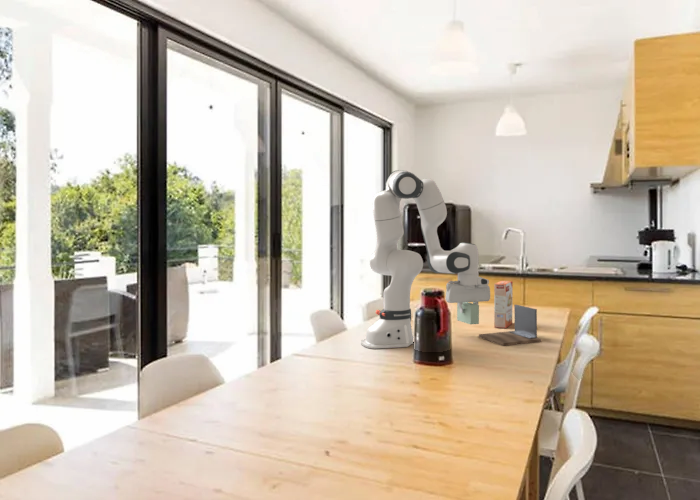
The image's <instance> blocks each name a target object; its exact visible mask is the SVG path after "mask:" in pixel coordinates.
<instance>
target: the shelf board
mask: <svg viewBox="0 0 700 500" xmlns="http://www.w3.org/2000/svg"><path fill="white" fill-rule="evenodd" d="M510 331H511V330H509V331H499V332H489V333H479V334H478V337H479V338H480V339H483V340H485V341H489V342H491V343H494V344H497V345H499V346H502V347H505V346H506V347H507V346H517V345H524V344H526V345H527V344H534V343H542V338H540V337H537V338H533V339H528V338H525V337H521V336H518V335H515V334H512V333H509V332H510Z"/></svg>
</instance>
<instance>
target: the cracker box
mask: <svg viewBox="0 0 700 500" xmlns="http://www.w3.org/2000/svg"><path fill="white" fill-rule="evenodd" d="M513 283H514V282H513V280H500V281H497V282H495V283H494V286H493V287H494V291H493V292H494V299H493V303H494V304H493V305H494V307H493V308H494V310H493V311H494V313H493V315H494V316H493V317H494V321H493V322H494V323H493V324H494V328H496V329H507V328H508V327H510V326H512V324H513V285H514V284H513Z"/></svg>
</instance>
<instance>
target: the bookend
mask: <svg viewBox="0 0 700 500" xmlns="http://www.w3.org/2000/svg"><path fill="white" fill-rule="evenodd" d="M513 305H514V310H513V311H514V330H509V331H510V332H509V333H512V334H515V335H518V336H521V337H525V338H528V339H533V338H538V328H537V327H538V325H537V323H538V321H537V320H538V316H537V315H538V312H537V311H538V309H537V308H532V307H529V306H528V307H527V306H524V305H519V304H513Z"/></svg>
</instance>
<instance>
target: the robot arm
mask: <svg viewBox="0 0 700 500" xmlns="http://www.w3.org/2000/svg"><path fill="white" fill-rule="evenodd" d="M402 199H405V200H406V199H413V201H414V203H415V204H416V208H417V210H418V213H419V216H420V229H421V234H422V236H423V237H422V238H423V241H424V242H423V243H424V246H425V248H426V255H427V258H426V261H427V266H428V268H429V270H430V271H431V272H433V273H434V274H455V275H456V274H457V280H450V281H448V282H447V283H446V284H445V285H446V287H445V288H446V289H445V301H446V303H449V304H457V305H458V307H459V308H460V313H465V309H463V307H462V305H463V302H468V303H472V304H477V305H479V302H481V303H482V302H489V301H490V300H491V288H490V286H489V284H490V280H489V279H487V278H484V277H481V276H479V275H480V274H479V269H478V268H479V264H480V263H479V260H480V259H479V258H480V257H479V249H478V246H477V245H476V244H474V243H471V242H460V243H459V244H458V245H457V246H456V247H454V248H453V249H450V250H444V249H443V247H441V243H440V239H439V235H438V227H439V226H441V224H443V222H444V221H445V220H446V218H447V216H448V215H447V214H448V211H447V206H446V203H445V199H444V197H443V195H442V193H441V191H440V189H439V187H438V185H437V183H436V181H434V179H431V178H423V179H420V178H419V177H417V175H415V174H414V173H413V172H410V171H408V170H404V169H398V170H394V171H392V172H390V173H389V175H388V176H387V179H386V181H385V184H384V186H383V190H382V191H378V192H376V194H374V196H373V198H372V213H373V220H374V226H375V232H376V238H377V239H376V247H375V250H374V252H373V253H372V254H371V256H370V258H369V265H370V269H371V270H372V271H373V272H374V273H377V274H379V275H382V276H389V277H390V276H391V279H390V283H389V285H388V286H386V287H385V288H384V290H383V295H382V297H383V298H382V299H383V309H382V310H379V309H376V310H375V314H376V315H377V316H379V318H378V319H377V320H376V321H375V322H374V323H372V324H371V325H370V326H369V327H368V328H367V329H366V334H365V339H361V340H360V344H361V346H363V347H364V348H368V349H375V350H376V349H391V348H392V349H393V348H408V347H409V346H411V345H413V344H414V343H413V338H414V335H413V329H412V309H411V289H412V285H413V282H414V280H415V279H416V278H417V276H418V275H420V273H421V272H422V270H423V267H424V260H423V258H422V256H421V254H420V253H418V252H416V251H412V250H408V249H399V248H398V244H399V240H400V239H402V237H403V236H404V232H405V231H404V226H403V219H402V214H401V210H400V206H401V205H400V203H401V200H402Z"/></svg>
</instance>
